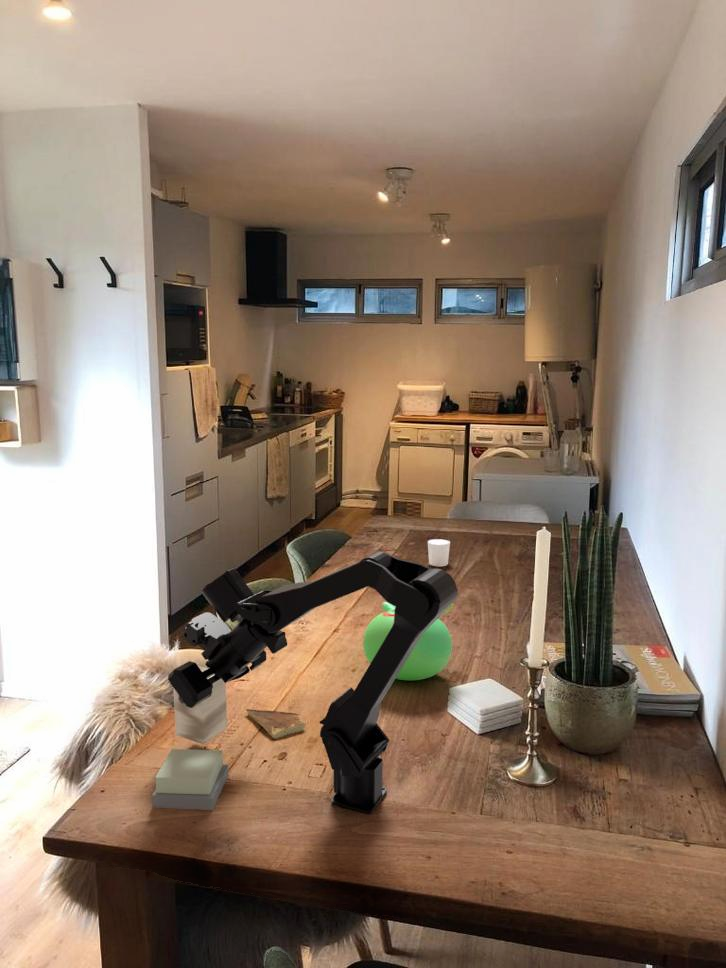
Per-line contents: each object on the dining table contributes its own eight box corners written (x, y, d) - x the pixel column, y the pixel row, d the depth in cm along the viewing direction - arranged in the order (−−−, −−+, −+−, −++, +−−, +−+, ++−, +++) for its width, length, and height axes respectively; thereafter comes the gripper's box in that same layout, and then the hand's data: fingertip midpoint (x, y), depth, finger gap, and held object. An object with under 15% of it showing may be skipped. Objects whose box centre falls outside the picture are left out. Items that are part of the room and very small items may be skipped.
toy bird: (352, 685, 152) (351, 614, 149) (379, 652, 168) (379, 588, 165) (440, 699, 146) (441, 626, 143) (460, 664, 162) (462, 598, 159)
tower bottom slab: (228, 779, 121) (228, 764, 120) (213, 813, 112) (212, 798, 111) (173, 776, 121) (172, 761, 121) (152, 810, 112) (152, 795, 112)
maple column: (227, 728, 129) (225, 672, 128) (203, 744, 124) (201, 686, 122) (199, 719, 132) (197, 665, 130) (175, 735, 127) (172, 679, 125)
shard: (246, 716, 140) (245, 707, 140) (283, 706, 144) (283, 697, 144) (271, 742, 131) (271, 732, 131) (311, 730, 135) (311, 721, 135)
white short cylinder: (450, 567, 230) (451, 544, 229) (427, 567, 230) (428, 544, 229) (448, 560, 237) (449, 538, 236) (426, 560, 237) (426, 538, 236)
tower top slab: (222, 765, 120) (222, 750, 119) (209, 794, 112) (209, 779, 112) (172, 763, 120) (171, 749, 120) (156, 792, 112) (155, 777, 112)
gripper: (250, 586, 130) (202, 635, 137) (174, 621, 114) (124, 675, 121) (289, 638, 128) (239, 686, 135) (218, 681, 112) (164, 733, 119)
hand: (193, 692), depth 128 cm, fingers closed on maple column, 6 cm apart
